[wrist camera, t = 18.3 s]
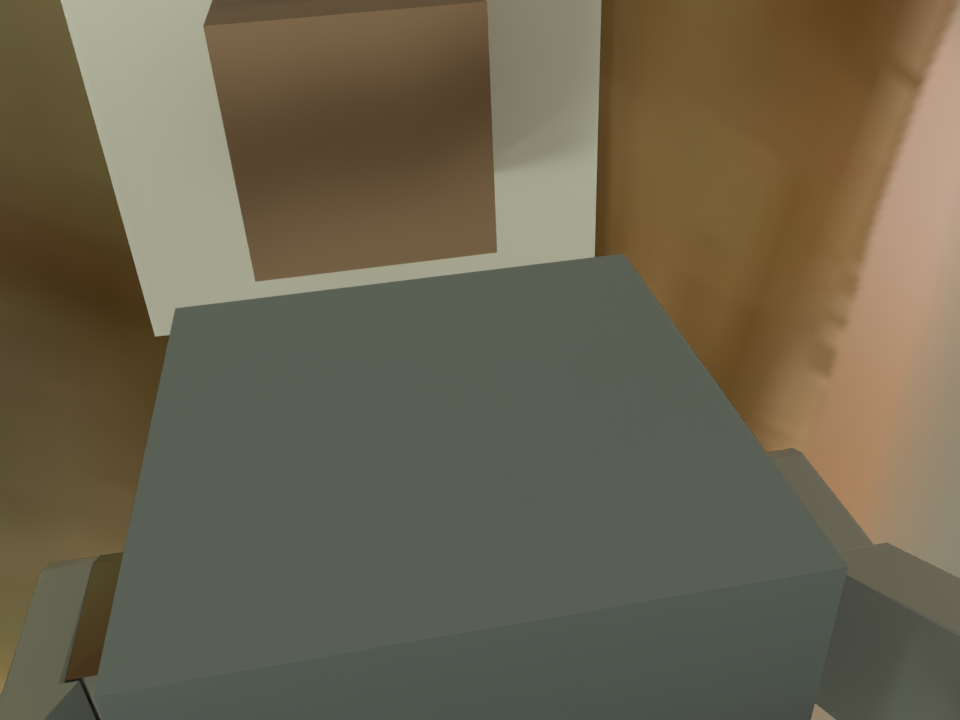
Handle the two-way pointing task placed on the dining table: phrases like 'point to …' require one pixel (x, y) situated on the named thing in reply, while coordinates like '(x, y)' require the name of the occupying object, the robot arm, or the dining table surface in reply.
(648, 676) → the grey cube
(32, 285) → the dining table surface
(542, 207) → the plate
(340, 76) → the walnut block
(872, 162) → the dining table surface
